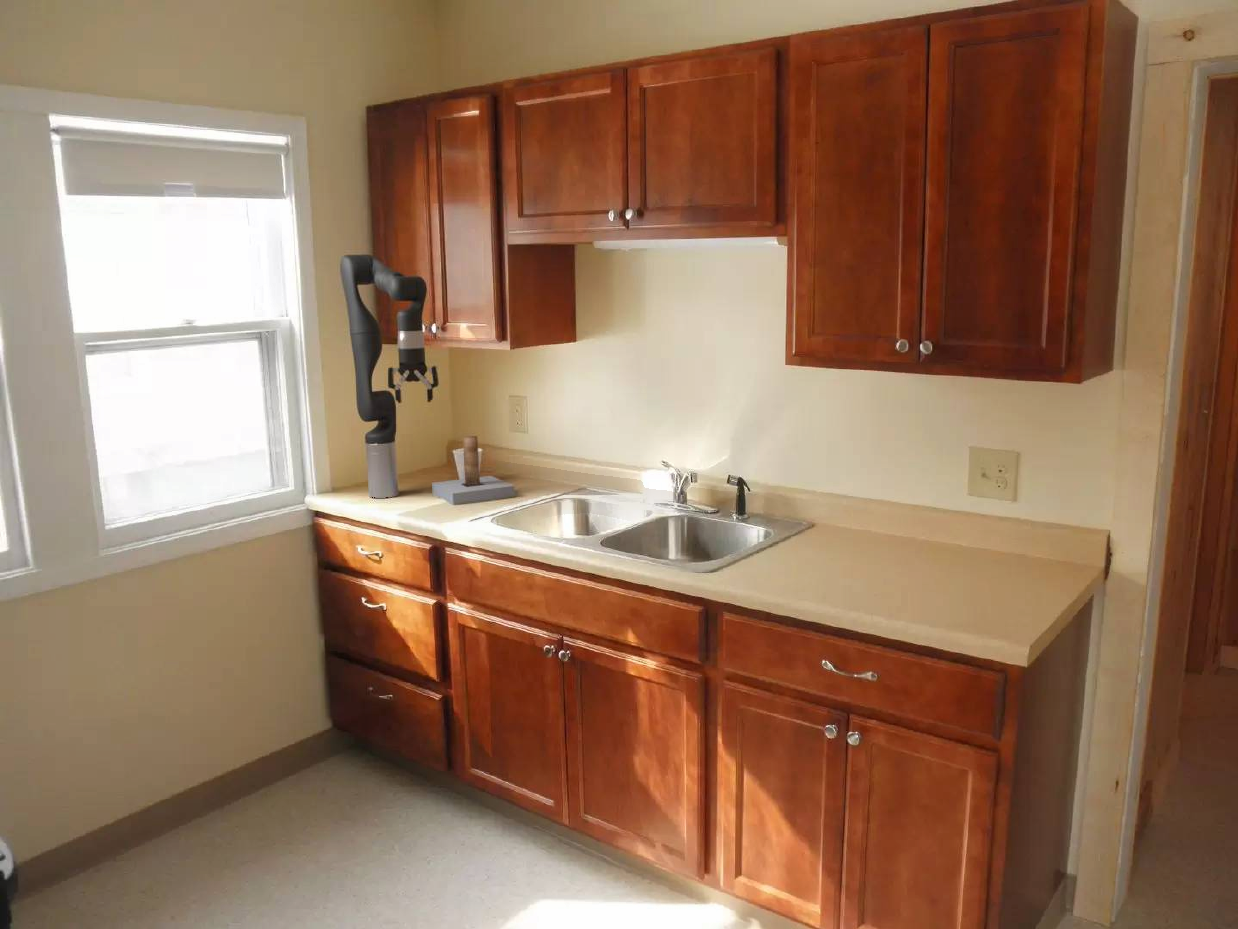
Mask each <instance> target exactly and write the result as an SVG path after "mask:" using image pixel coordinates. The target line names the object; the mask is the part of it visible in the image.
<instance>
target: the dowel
mask: <svg viewBox="0 0 1238 929" xmlns="http://www.w3.org/2000/svg"><path fill="white" fill-rule="evenodd" d="M478 445H479V444H478V436H477V435H467V436H463V437H462V448H463V452H464V469H465V486H466V487H471V486H479V485H480V478H479V477H480V471H479V460H478V448H479V446H478Z"/></svg>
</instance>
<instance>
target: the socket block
mask: <svg viewBox="0 0 1238 929" xmlns="http://www.w3.org/2000/svg"><path fill="white" fill-rule="evenodd" d="M479 478H480V485H479V486H471V487H466V486H465V479H460V480H459V479H452V480H445V481H444V480H443V481H435V482H431V488H432V489H431V490H432V492H431V493H434V494H435V496H436V495H437V496H436V497H438V498H440V497H441V498H440V499H442V498H443V499H444V500H443V499H442V500H443V501H445V500H446V502H447V503H449V504H451V503H452V504H451V505H452V506H455V505H454V504H457V505H462V504H461V503H464V504H471V503H479V502H487V501H492V500H491V499H495V500H500V499H499V498H503V499H507V498H506V497H510V498H515V496H516V492H515V485H513V484H511V483H509V482H506V481H504V480H502V479H500V478H497V477H495V476H492V475H488V476H479ZM434 494H433V495H434ZM486 500H487V501H486Z"/></svg>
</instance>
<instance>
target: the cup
mask: <svg viewBox="0 0 1238 929" xmlns="http://www.w3.org/2000/svg"><path fill="white" fill-rule="evenodd" d="M483 451H484V450H483V448H480V447H478V460H479V472H480V470H481V461H482V455H483V453H482V452H483ZM452 453H453V457H454V462H455V465H456V471H457V476H458V478H459V479H458V480H460V479H465V469H464V452H463V447H462V448H457V449H453V450H452Z"/></svg>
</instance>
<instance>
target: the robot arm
mask: <svg viewBox="0 0 1238 929" xmlns="http://www.w3.org/2000/svg"><path fill="white" fill-rule="evenodd" d="M339 272H340V278H341V283H342V289H343V291H344V292H343V293H344V297H345V302H346V309H347V316H348V325H349V334H350V335H349V336H350V343H351V349H352V356H353V363H354V364H353V365H354V372H355V374H354V375H355V394H356V396H355V397H356V407H357V408H356V409H357V412H358V415H359V418H360V419H361V420H362V421H363V422H365V423H368V422H369V423H370V422H371V423H372V422H377V424H376V425H375V427H374V428H373V429H371V430H370V431H368V432H366V433H365V435H364V441H365V444H364V445H365V455H366V457H365V459H366V471H367V483H368V484H367V486H368V487H367V488H368V496H369V498H372V497H373V499H387V498H386V497H388V498H393V497H397V496H399V495H400V492H399V491H400V490H399V478H398V477H399V476H398V461H397V460H398V459H397V448H396V447H397V445H396V444H397V443H396V435H397V404H396V402H397V403H398V404H401V403H402V390H401V387H402V386H403V384H404V383H405V382H407V383H411V382H416V383H418V382H420V381H421V383H422V384H423V385H424V386H425V387H426V388H427V390H426V394H427V396H426V398H427V402H428V403H431V401H433V399H434V395H433V394H434V390H433V389H434V388H437V387H439V386H440V384H439V374H438V367H437V366H436V365H433V366H427V364H426V363H427V362H426V350H425V349H426V348H425V336H424V327H423V326H424V325H423V313H424V308H425V301H426V299H427V294H428V293H427V291H428V289H427V288H428V286H427V283H426V281H425V279H424V278H423V277H422V276H419V275H411V276H410V275H409V276H408V275H406V276H405V275H404V274H403V273H402V272H399V271H397V270H394V269H393V268H389V267H388V266H386V265H385V264H384V263H383V262H381V261H380V260H379V259H378V258H376V257H375V256H374V255H371V254H366V253H365V254H363V253H362V254H346V255H345V254H344V255H343V256H342V257H341V258H340V262H339ZM373 284H375V286H376V287H377V289H379V290H380V291H382V292H384V293H386V294H388V295H389V297H390V299H392V300H393V301H396V302H411V303H410V305H409V307H408V308H405V309H402V310H399V311H398V312H397V313H396V314H397V315H396V318H397V319H396V321H397V352H398V367H393V366H390V367H388V369H387V387H388V388H389V389H392V390H394V393H395V396H394V394H393V393H392V392H391V391H389V390H385V389H384V390H376V391H375V390H373V383H372V381H373V374H374V370H375V368H376V366H377V364H378V361H379V359H380V358H381V357H380V356H381V354H382V351H383V342H382V341H383V340H382V339H383V338H382V331H381V326H380V324H379V323H378V321H377V319H376V318H375V316H374V315H373V314H372V313H371V311H370V310H369V309H368V307H367V306H366V305H365V304H364V301H363V300H362V297H361V295H360V290H359V286H365V285H373ZM397 372H398V374H399V375H400V379H399V380H398V381H397V383H396V384H395V382H394V381H395V380H394V378H395V377H394V376H395V375H396V374H397ZM427 372H429V374H431V375H432V383H431V382H430V381H429V379H428V378H427V377H426V376H425V375H426V373H427ZM374 497H375V498H374Z"/></svg>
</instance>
